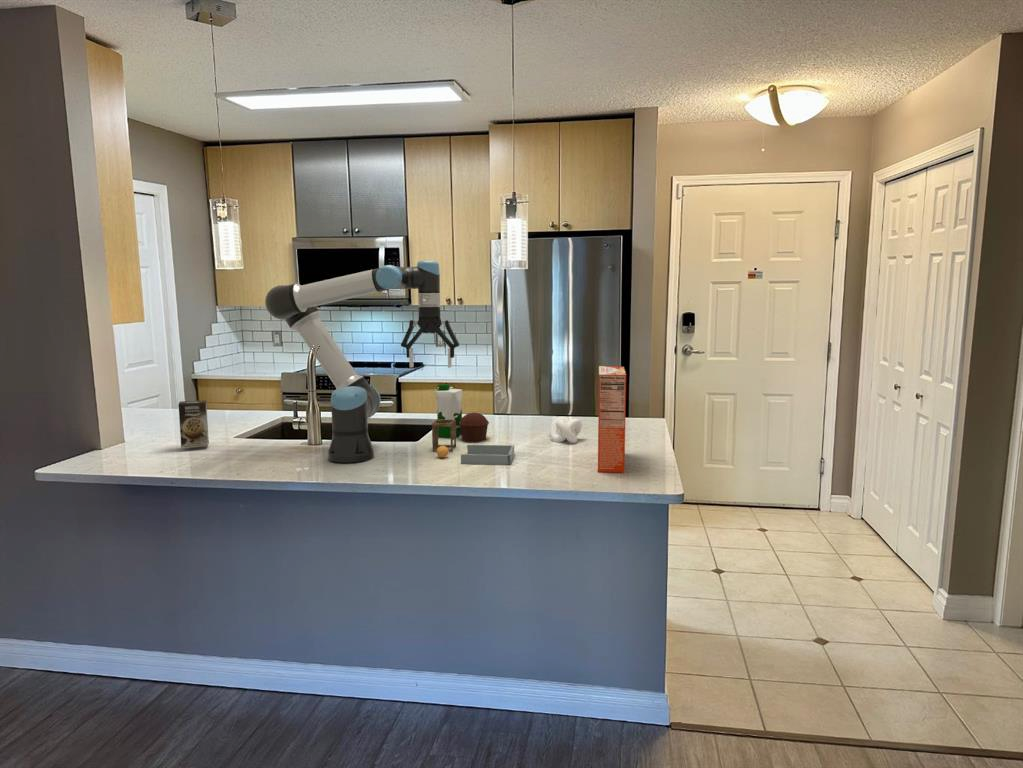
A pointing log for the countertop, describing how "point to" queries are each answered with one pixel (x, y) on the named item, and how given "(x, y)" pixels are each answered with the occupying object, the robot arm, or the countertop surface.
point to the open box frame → (435, 433)
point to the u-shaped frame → (476, 457)
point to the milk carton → (449, 409)
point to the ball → (442, 451)
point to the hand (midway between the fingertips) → (430, 367)
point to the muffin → (473, 427)
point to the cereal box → (611, 419)
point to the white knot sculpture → (565, 429)
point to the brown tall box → (193, 423)
